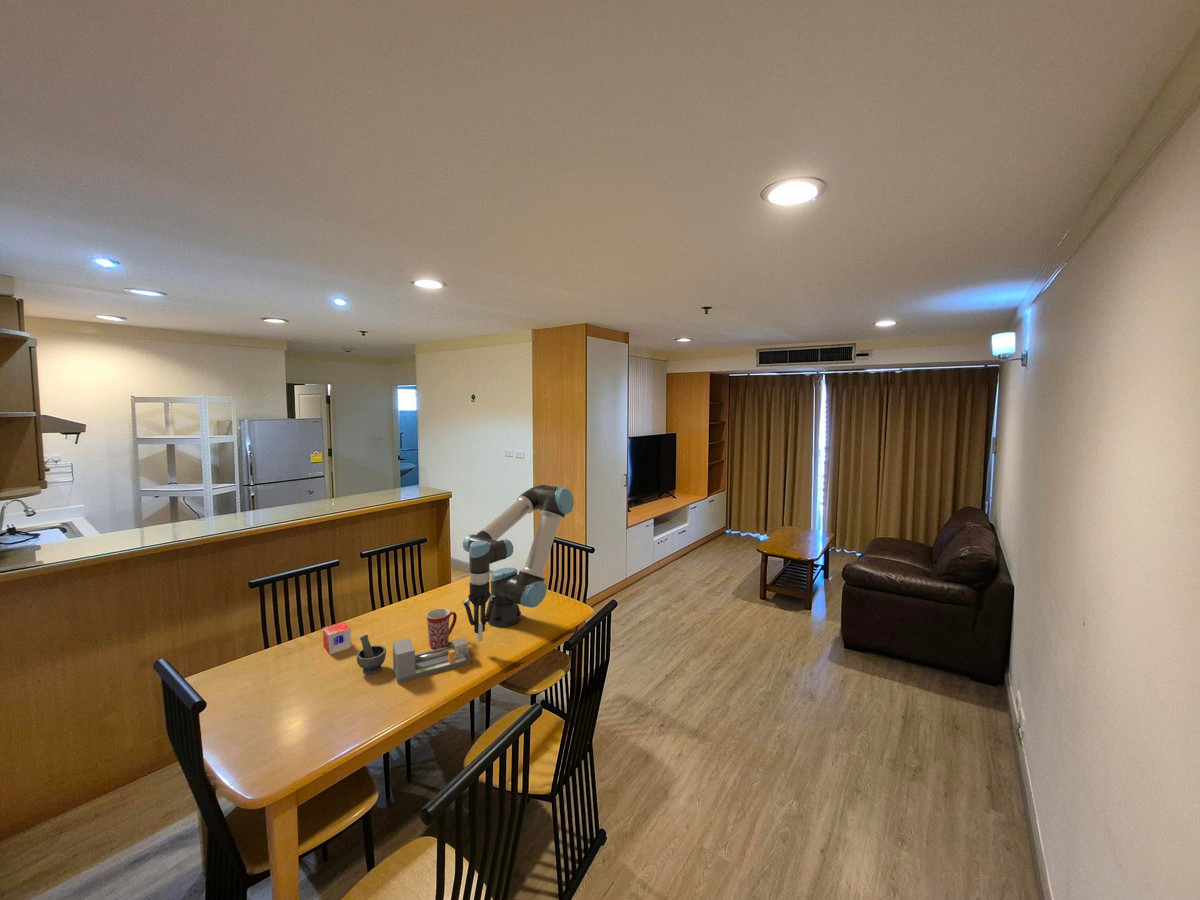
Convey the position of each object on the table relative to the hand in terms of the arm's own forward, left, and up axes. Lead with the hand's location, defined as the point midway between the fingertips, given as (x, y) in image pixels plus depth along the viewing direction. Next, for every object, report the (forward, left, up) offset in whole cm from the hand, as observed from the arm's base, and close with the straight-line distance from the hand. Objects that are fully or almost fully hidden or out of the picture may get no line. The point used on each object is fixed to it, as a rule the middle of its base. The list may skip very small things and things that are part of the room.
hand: (479, 640), depth 184 cm
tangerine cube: (+12, +4, -4) cm, 13 cm away
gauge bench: (+18, 0, -6) cm, 18 cm away
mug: (+11, -15, -6) cm, 19 cm away
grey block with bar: (+15, +1, -4) cm, 15 cm away
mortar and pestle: (+38, -9, -6) cm, 39 cm away
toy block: (+48, -33, -6) cm, 58 cm away
